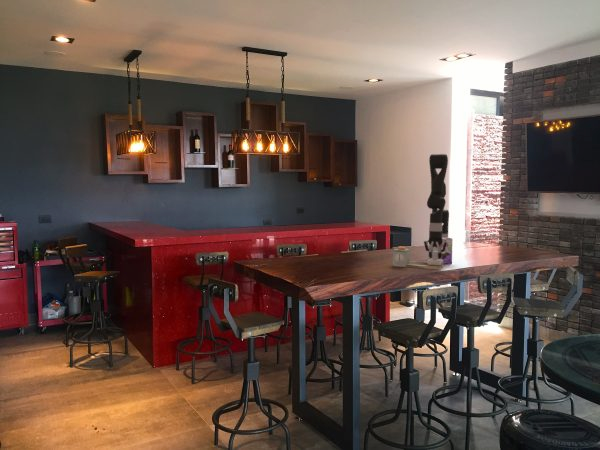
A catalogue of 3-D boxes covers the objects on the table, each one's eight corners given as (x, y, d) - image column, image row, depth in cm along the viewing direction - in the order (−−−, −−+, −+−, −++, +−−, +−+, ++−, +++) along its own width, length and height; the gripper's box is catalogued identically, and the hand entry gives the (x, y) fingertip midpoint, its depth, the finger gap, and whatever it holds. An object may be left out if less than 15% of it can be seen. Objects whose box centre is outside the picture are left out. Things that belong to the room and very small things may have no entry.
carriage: (429, 263, 310) (429, 250, 309) (443, 264, 307) (443, 251, 306) (426, 264, 303) (427, 252, 302) (440, 265, 299) (440, 252, 299)
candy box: (432, 264, 317) (432, 238, 316) (427, 263, 323) (428, 237, 321) (452, 263, 320) (452, 238, 318) (447, 262, 325) (448, 237, 324)
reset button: (399, 252, 316) (399, 246, 316) (406, 253, 314) (406, 246, 314) (397, 253, 312) (397, 247, 312) (404, 254, 311) (404, 247, 310)
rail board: (409, 264, 317) (410, 259, 317) (443, 267, 308) (443, 262, 307) (405, 267, 308) (405, 262, 308) (439, 269, 299) (440, 264, 298)
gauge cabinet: (397, 263, 320) (397, 248, 320) (409, 264, 317) (410, 248, 316) (392, 266, 311) (393, 250, 310) (405, 267, 307) (405, 250, 307)
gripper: (449, 230, 303) (448, 258, 305) (425, 229, 310) (424, 256, 311) (446, 231, 297) (446, 260, 298) (422, 230, 303) (421, 258, 304)
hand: (435, 258), depth 304 cm, fingers open, 4 cm apart
